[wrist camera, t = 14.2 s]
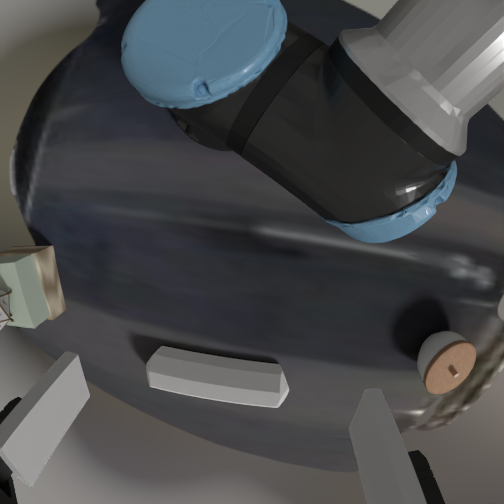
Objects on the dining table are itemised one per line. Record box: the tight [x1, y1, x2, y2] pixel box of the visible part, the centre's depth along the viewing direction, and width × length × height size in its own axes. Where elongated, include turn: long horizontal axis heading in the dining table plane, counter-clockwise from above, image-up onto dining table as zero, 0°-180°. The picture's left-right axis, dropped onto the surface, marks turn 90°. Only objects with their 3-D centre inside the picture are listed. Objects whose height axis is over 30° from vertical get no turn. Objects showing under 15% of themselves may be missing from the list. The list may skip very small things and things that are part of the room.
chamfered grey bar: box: [146, 346, 289, 408], centre depth 45 cm, size 7×7×24 cm
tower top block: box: [0, 253, 51, 328], centre depth 38 cm, size 11×11×5 cm
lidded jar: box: [417, 331, 476, 394], centre depth 41 cm, size 11×11×9 cm
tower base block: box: [0, 246, 66, 320], centre depth 43 cm, size 12×12×5 cm
